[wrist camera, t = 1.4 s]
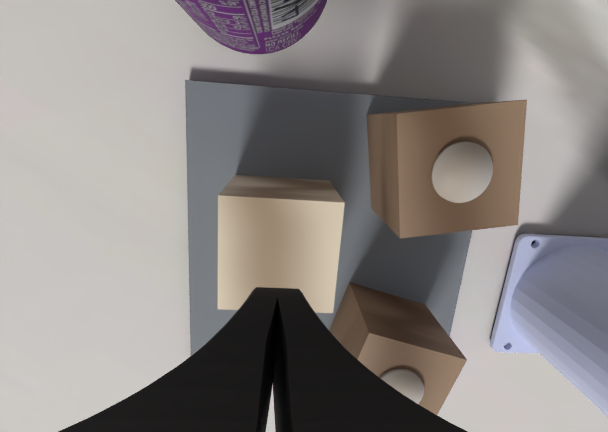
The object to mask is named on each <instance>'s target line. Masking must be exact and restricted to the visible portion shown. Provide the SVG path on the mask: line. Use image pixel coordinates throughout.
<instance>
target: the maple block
mask: <svg viewBox="0 0 608 432" xmlns="http://www.w3.org/2000/svg"><path fill="white" fill-rule="evenodd" d="M344 206H345V202H344V201H343V199H342V198H341V197H340V195H339V194H338V192H337V191H336V189H335V188H334V187H333V185H332V184H331V182H330V181H328V180H311V179H295V178H279V177H263V176H246V175H235V176H234V177H233V178H232V179H231V181H230V182H229V183H228V184H227V185H226V187H225V188H224V189H223V190H222V191H221V192H220V194H219V195H218V309H224V310H239V308H240V307H241V306H242V305H243V303H244V302H245V301H246V299H247V298H248V297H249V295H250V294H251V292H252V291H253V290H254V289H255V288H256V287H267V288H293V289H300V291H301V292H302V293H303V295H304V296H305V298H306V300H307V301H308V303H309V304H310V306H311V307H312V309H313V310H314V312H315V313H333V309H334V300H335V290H336V281H337V271H338V262H339V253H340V243H341V234H342V224H343V215H344Z"/></svg>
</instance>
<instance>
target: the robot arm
mask: <svg viewBox="0 0 608 432" xmlns="http://www.w3.org/2000/svg"><path fill="white" fill-rule="evenodd" d="M534 240H535V243H534V244H533V245H531V243H532V241H534ZM506 343H507V345H505V344H506ZM504 345H505V346H504ZM490 346H491V348H492V349H493V350H494V351H495V352H510V353H539V354H540V355H541V356H542V357H544V358H545V359H546V360H547V361H548V362H549V363H550V364H551V365H552V366H553V367H554V368H555V369H556V370H558V371H559V372H560V373H561V374H562V375H563V376H564V377H565V378H566V379H567V380H568V381H569V382H571V383H572V384H573V385H574V386H575V387H576V388H577V389H578V390H579V391H580V392H581V393H582V394H583V395H585V396H586V397H587V398H588V399H589V400H590V401H591V402H592V403H593V404H594V405H595V406H596V407H597V408H599V409H600V410H601V411H602V412H603V413H604V414H605V415H606V416H607V417H608V238H600V237H581V236H562V235H543V234H521V235H519V236H518V237H517V239H516V241H515V244H514V248H513V252H512V256H511V260H510V264H509V268H508V272H507V276H506V280H505V284H504V288H503V292H502V296H501V300H500V304H499V308H498V312H497V316H496V320H495V324H494V328H493V332H492V336H491V340H490ZM272 384H273V394H274V411H275V428H276V432H467V431H465V430H463V429H461V428H459V427H457V426H455V425H453V424H451V423H449V422H448V421H446V420H444V419H442V418H441V417H439V416H437V415H435V414H434V413H432V412H430V411H429V410H427V409H425V408H424V407H422V406H420V405H419V404H417V403H415V402H414V401H412V400H411V399H409V398H408V397H406V396H405V395H403V394H402V393H400V392H399V391H397V390H396V389H394V388H393V387H392V386H390V385H389V384H387V383H386V382H385V381H383V380H382V379H381V378H379V377H378V376H377V375H375V374H374V373H373V372H372V371H370V370H369V369H368V368H367V367H365V366H364V365H363V364H362V363H361V362H360V361H359V360H357V359H356V358H355V357H354V356H353V355H352V354H351V353H350V352H349V351H347V350H346V349H345V348H344V347H343V346H342V344H341V343H340V342H339V341H338V340H337V339H336V338H335V337H334V336H333V335H332V333H331V332H330V331H329V330H328V329H327V327H326V326H325V325H324V324H323V322H322V321H321V320H320V318H319V317H318V316H317V314H316V313H315V312H314V310H313V309H312V307H311V306H310V304H309V303H308V301H307V300H306V298H305V296H304V295H303V293H302V292H301V291H300V289H293V288H267V287H256V288H255V289H254V290H253V291H252V292H251V294H250V295H249V297H248V298H247V299H246V301H245V302H244V303H243V305H242V306H241V307H240V308H239V310H238V311H237V312H236V313H235V314H234V315H233V316H232V318H231V319H230V320H229V321H228V322H227V323H226V324H225V325H224V326H223V327H222V328H221V329H220V330H219V331H218V332H217V333H216V334H215V335H214V336H213V337H212V338H211V339H210V340H209V341H208V342H207V343H206V344H205V345H204V346H202V347H201V348H200V349H199V350H198V351H197V352H196V353H194V354H193V355H192V356H191V357H189V358H188V359H187V360H186V361H184V362H183V363H182V364H180V365H179V366H177V367H176V368H174V369H173V370H171V371H170V372H168V373H167V374H165V375H164V376H162V377H161V378H159V379H158V380H156V381H155V382H153V383H152V384H150V385H149V386H147V387H145V388H144V389H142V390H140V391H138V392H137V393H135V394H133V395H131V396H130V397H128V398H126V399H124V400H122V401H121V402H119V403H117V404H115V405H113V406H111V407H109V408H107V409H105V410H104V411H102V412H100V413H98V414H96V415H94V416H92V417H90V418H88V419H85V420H83V421H81V422H79V423H77V424H74V425H72V426H70V427H68V428H65V429H63V430H61V431H59V432H265V431H266V424H267V417H268V411H269V404H270V397H271V390H272Z"/></svg>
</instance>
